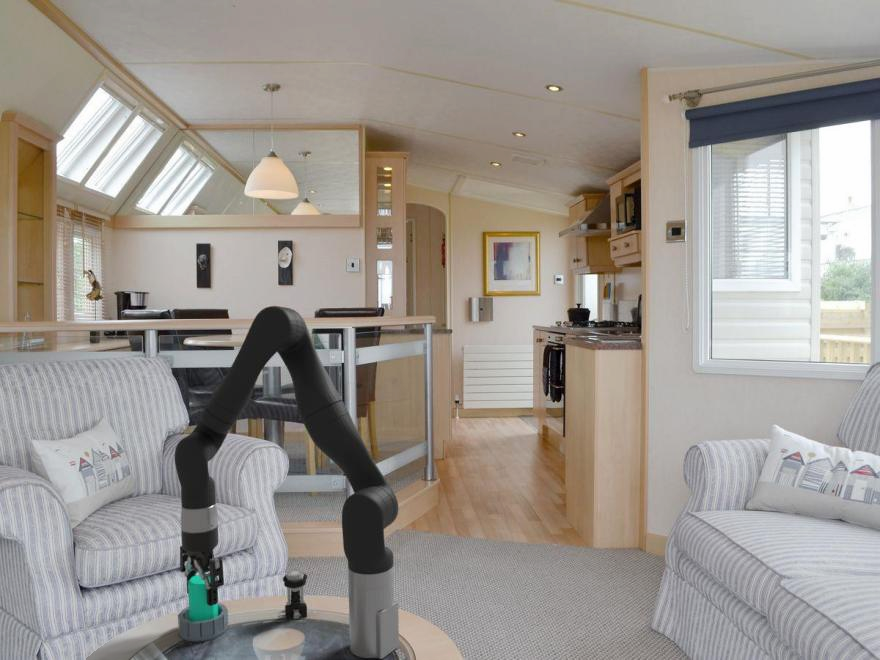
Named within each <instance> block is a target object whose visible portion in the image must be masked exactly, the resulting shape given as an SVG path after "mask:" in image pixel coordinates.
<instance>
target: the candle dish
mask: <svg viewBox="0 0 880 660" xmlns="http://www.w3.org/2000/svg"><path fill="white" fill-rule="evenodd" d="M228 612H229V611H228V608H227V606H226V605H225V604H223V603H220V602H218V616H216V617H214V618H212V619H209V620H204V621H190V620H189V606H188V607H185V608H183V609H182V610H181V611H179V613H178V614H177V624H178V625H177V626H178V627H177V628H178V635H180V636H179V638H180V637H181V638H182V640H183V639H184V641H186V642H193V643H199V642H201V643H202V642H206V641H210V640H214V639H217V638H218V637H220V636H222V635H224V634H225V633H226V632H227V630H228V624H229V616H228V614H229V613H228ZM181 638H180V639H181Z"/></svg>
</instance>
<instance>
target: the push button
mask: <svg viewBox="0 0 880 660" xmlns="http://www.w3.org/2000/svg"><path fill="white" fill-rule="evenodd" d="M307 579H308V574H306V573H305V572H303V570H300V569H293V570H289V571H287V572H286V574H285V575H284V576H283V577H282V581H283V585H284V587H285V588H286V590H287V591H286V594H287V596H286V597H287V601H286V604H285V605H284V610H283V609H282V610H279V611H277V613H278V614H279V615H277V617H278V618H282V617H283V618H284V617H285V619H286V620H290V619H299V618H307V617H308V606H307V602H306V600H305V598H304V592H305V591H304V586H305V585H306V583H307Z"/></svg>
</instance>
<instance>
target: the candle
mask: <svg viewBox="0 0 880 660" xmlns="http://www.w3.org/2000/svg"><path fill="white" fill-rule="evenodd" d="M209 581H210V578H209ZM206 589H207V587H206V584H205V582H204V580H202V579H201V577H200V574H199V573H197V574H195V576H193V577H192V578H191V579H190V580H189V581H188V593H187V594H188V607H189V620H190V621H204V620H209V619H212V618H214V617H216V616H218V603H219V602H218V603H217V604H215V605H212V606H209V605H207V591H206Z"/></svg>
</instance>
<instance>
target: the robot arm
mask: <svg viewBox="0 0 880 660" xmlns="http://www.w3.org/2000/svg"><path fill="white" fill-rule="evenodd" d="M276 354H278V355H279V357H280V358H281V360H282V362H283V363H284V365H285V367H286V369H287V371H288V373H289V375H290V378H291V381H292V384H293V385H292V386H293V391H294V398H295V403H296V408H297V411H298V414H299V417H300V419H301V421H302V423H303V425H304V427H305V429H306V431H307V433H308V435H309V438H310V440H312V442H313V443H314V445H316V447H317V448H318V449H319V450H320V451H321V452H322V453H323V454H325V456H327V457H328V458H329V459H330V460H331V461H332V462H333V463H334V464H335V465H337V466H338V467H339V468H340V470H341V472H343V474H344V475H345V477H346V479H347V480H348V483H349V484H350V487H351V489H352V491H353V493H352V494H351V495H349V496H348V497H347V498H346V499H345V501H344V503H343V506H342V510H341V529H342V530H341V532H342V544H343V552H344V555H345V558H346V559H347V573H348V575H347V576H348V577H347V578H348V582H347V583H348V587H347V588H348V618H349V619H348V620H349V628H348V629H349V650H350V653H352V654H353V655H354V656H356V657H359V658H364V659H379V660H381V659H384V658H385V657H386V656H388V655H389V654H391V653H393V651H395V650H397V649H398V648H399V647H400V643H399V642H400V640H399V639H400V638H399V637H400V634H399V633H400V631H399V629H400V628H399V627H400V626H399V622H400V621H399V602H398V601H395V591H394V590H395V589H394V588H395V587H394V586H395V583H394V579H395V578H394V575H395V574H394V553H393V550H391V549H390V547H388V546H386V544H385V543H386V542H385V529H386V528H387V527H389V526H390V525H392V524H393V523H394V522H395V521H396V519H397V517H398V516H399V515H398V514H399V503H398V502H399V501H398V498H397V496H396V494H395V492H394V490H393V489H392V487H391V485H390V484H389V482H388V481H387V479H386V478H385V476H384V474H383V473H382V472H381V470H380V469H379V467H378V465H377V464H376V462H375V461H374V459H373V457H372V456H371V454H370V451H369V450H368V448H367V446H366V444H365V442H364V441H363V438H362V437H361V435H360V433H359V431H358V429H357V427H356V426H355V423H354V422H353V418H352V417H351V415H350V413H349V411H348V409H347V406H346V404H345V403H344V401H343V399H342V397H341V395H340V394H339V392H338V390H337V388H336V386H335V384H334V382H333V381H332V379H331V377H330V375H329V373H328V372H327V369H326V367H325V366H324V364H323V363H322V361H321V359H320V356H319V355H318V352H317V349H316V347H315V344H314V342H313V339H312V337H311V334H310V332H309V329H308V327H307V324H306V321H305V319H304V318H303V316H302V315H301V314H300V313H299V312H297V310H294V309H293V308H290V307H285V306H277V305H273V306H267V307H264V308H263V309H261V310H260V311H259V312H258V313H257V314H256V316H255V317H254V319H253V321H252V323H251V325H250V326H249V329H248V332H247V334H246V336H245V338H244V340H243V343H242V345H241V347H240V349H239V351H238V353H237V355H236V357H235V359H234V361H233V362H232V364H231V367H229V370H228V372H227V373H226V375H225V376H224V378H223V379H222V381H221V383H220V385H219V386H218V387H217V388H216V390H215V391H214V393H213V394H212V396H211V398H210V399H209V401H208V402H207V404H206V406H204V408H203V411H202V412H201V414H200V420H199V422H198V423H197V425H196V426H195V428H194V430H192V432H191V433H190V434H188V435H187V436H185V437H183V438H182V439H180V440H179V441H178V443H177V444H176V447H175V450H174V464H175V469H176V474H177V478H178V479H177V480H178V482H179V484H180V500H181V502H180V503H181V510H180V511H181V512H180V537H181V546H179V571H180V573H183V575H184V577H185V578H186V593H187V594H188V581H189V580H190V579H191V578H192V577H193V576H195V575H198V574H200V577H201V579H202V580H204V582H205V584H206V587H207V589H206V591H207V605H209V606H212V605H215V604H217V603H219V593H218V591H219V590H218V589H219V587H222V586H224V584H225V579H224V578H225V577H224V566H223V558H222V557H221V556H220V557H217V558H216V557H215V554H214V550H215V548H216V547H218V545H219V522H218V521H219V520H218V519H219V518H218V508H217V499H216V496H217V495H216V484H215V483H216V482H215V480H214V478H213V477H212V476H210V472H209V461H211V460H212V459H213V458H214V457H215V456H216V455H217V454H218V452H219V450H220V449H221V447H222V446H223V443H225V440H226V438H227V436H228V434H229V431H231V428H233V426H234V425H235V424H236V423H237V421H238V419H239V418H240V416H241V415H242V413H243V412H244V410H245V409H246V407H247V406H248V404H249V402H250V399H251V398H252V394H253V392H254V390H255V387H256V383H257V380H258V379H259V376H260V375H261V372H262V371H263V369H264V368H265V366H266V365H267V364H268V363H269V361H270V360H271V359H272V358H273V357H274V355H276ZM185 562H186V564H185ZM209 578H210V581H209Z"/></svg>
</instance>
